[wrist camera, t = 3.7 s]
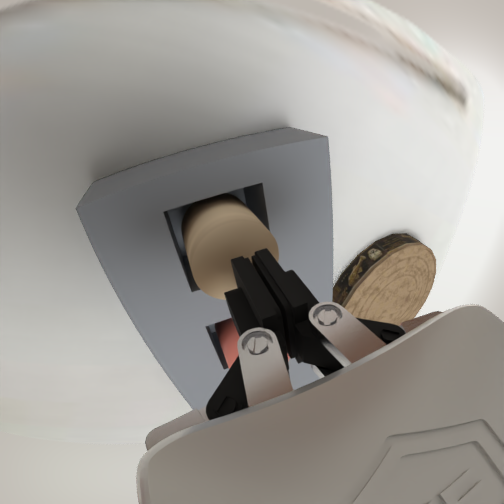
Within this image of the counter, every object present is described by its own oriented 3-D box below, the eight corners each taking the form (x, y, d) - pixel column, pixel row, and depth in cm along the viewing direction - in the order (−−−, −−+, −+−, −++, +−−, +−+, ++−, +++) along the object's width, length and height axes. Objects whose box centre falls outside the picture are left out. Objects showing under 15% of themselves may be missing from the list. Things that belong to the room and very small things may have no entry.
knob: (172, 205, 16) (180, 238, 12) (244, 183, 17) (273, 210, 13) (192, 266, 18) (205, 310, 15) (255, 245, 19) (283, 283, 15)
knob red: (208, 311, 20) (223, 355, 17) (264, 291, 21) (288, 331, 18) (222, 347, 23) (237, 389, 19) (271, 329, 24) (292, 367, 20)
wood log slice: (314, 355, 34) (325, 371, 32) (331, 247, 26) (349, 263, 24) (402, 317, 38) (414, 329, 36) (432, 222, 30) (449, 233, 28)
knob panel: (93, 182, 16) (75, 208, 12) (289, 127, 19) (327, 136, 15) (199, 394, 30) (209, 429, 26) (307, 354, 33) (326, 384, 29)
